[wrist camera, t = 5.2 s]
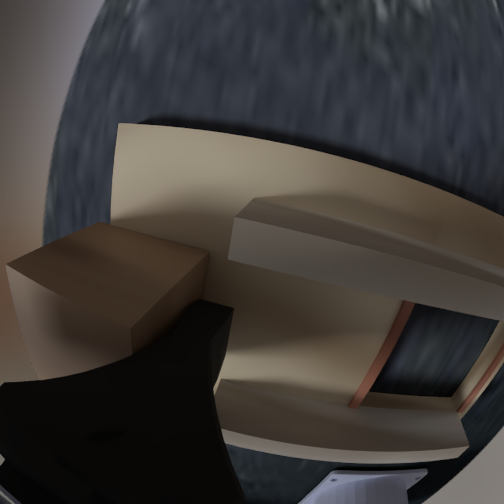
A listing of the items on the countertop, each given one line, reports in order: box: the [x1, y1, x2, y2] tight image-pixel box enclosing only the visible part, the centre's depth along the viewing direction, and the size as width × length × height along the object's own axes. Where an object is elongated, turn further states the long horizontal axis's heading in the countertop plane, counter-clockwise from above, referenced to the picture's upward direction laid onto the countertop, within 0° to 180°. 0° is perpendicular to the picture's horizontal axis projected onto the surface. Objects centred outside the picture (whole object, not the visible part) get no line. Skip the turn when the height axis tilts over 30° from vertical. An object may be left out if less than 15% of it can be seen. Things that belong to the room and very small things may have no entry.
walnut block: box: [6, 222, 209, 380], centre depth 8 cm, size 4×4×4 cm
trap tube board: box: [111, 123, 504, 463], centre depth 9 cm, size 12×18×4 cm, turn 79°
